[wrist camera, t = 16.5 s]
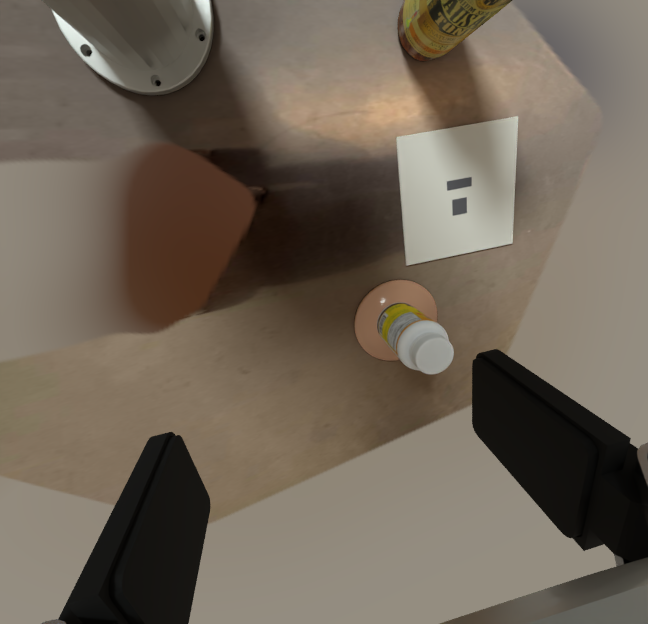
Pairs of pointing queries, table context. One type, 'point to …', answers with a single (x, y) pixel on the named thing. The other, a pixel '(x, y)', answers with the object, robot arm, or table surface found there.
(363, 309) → the peach domed disc
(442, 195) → the white flat square slab
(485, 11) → the sauce bottle
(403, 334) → the supplement bottle
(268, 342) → the table surface
